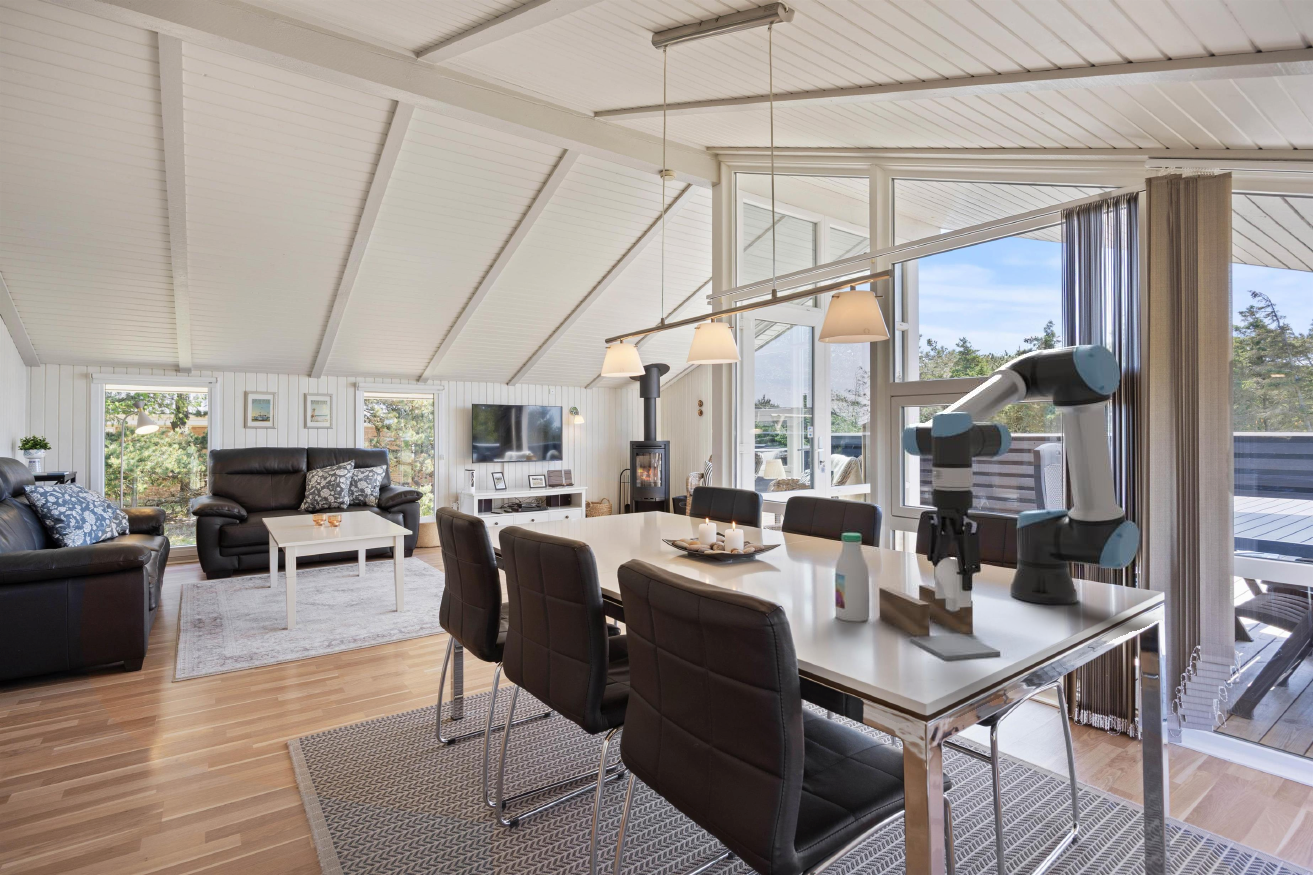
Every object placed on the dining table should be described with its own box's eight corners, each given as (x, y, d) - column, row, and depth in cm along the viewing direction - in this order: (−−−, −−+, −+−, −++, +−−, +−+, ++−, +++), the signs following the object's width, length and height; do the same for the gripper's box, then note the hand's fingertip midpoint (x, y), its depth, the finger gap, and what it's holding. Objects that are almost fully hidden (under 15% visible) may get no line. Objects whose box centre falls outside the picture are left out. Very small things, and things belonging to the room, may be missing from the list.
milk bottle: (871, 615, 159) (870, 532, 159) (867, 623, 152) (866, 536, 152) (838, 612, 162) (837, 530, 162) (832, 620, 155) (832, 535, 155)
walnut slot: (928, 613, 160) (928, 584, 160) (972, 632, 144) (972, 600, 144) (879, 616, 157) (879, 587, 157) (919, 637, 142) (918, 604, 142)
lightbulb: (973, 616, 130) (973, 560, 130) (939, 614, 132) (939, 559, 132) (965, 607, 137) (965, 554, 137) (932, 606, 138) (932, 554, 138)
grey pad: (960, 636, 141) (960, 633, 141) (1000, 655, 130) (1000, 651, 130) (909, 641, 139) (909, 637, 139) (945, 660, 127) (945, 656, 127)
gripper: (908, 485, 143) (908, 592, 143) (967, 492, 124) (967, 615, 124) (939, 484, 144) (939, 590, 144) (1002, 491, 125) (1002, 613, 126)
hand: (952, 601), depth 134 cm, fingers closed on lightbulb, 6 cm apart
